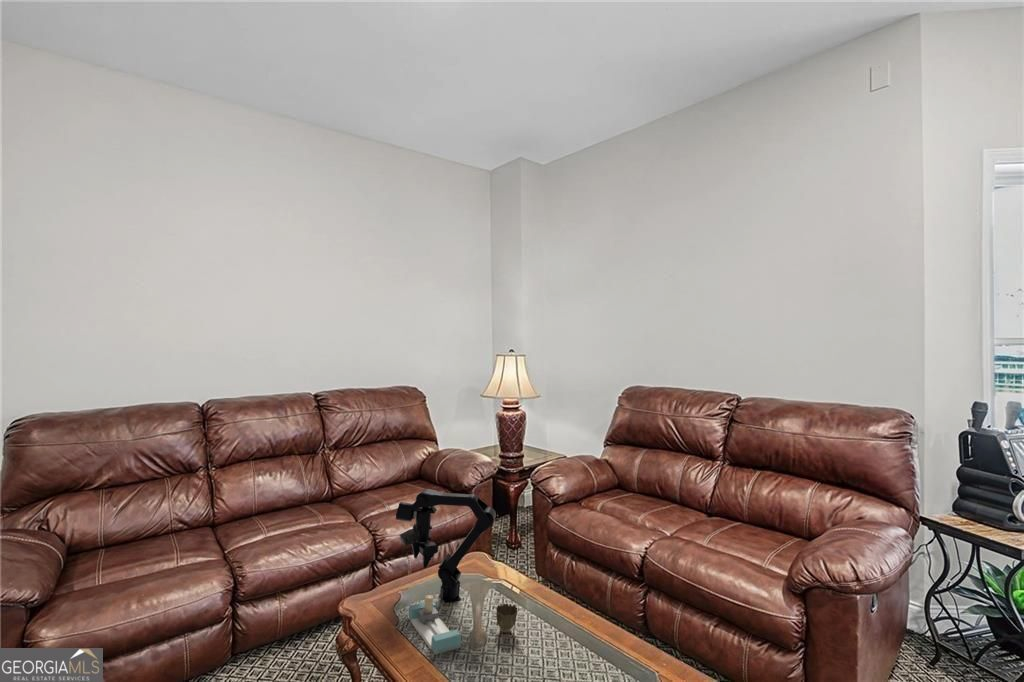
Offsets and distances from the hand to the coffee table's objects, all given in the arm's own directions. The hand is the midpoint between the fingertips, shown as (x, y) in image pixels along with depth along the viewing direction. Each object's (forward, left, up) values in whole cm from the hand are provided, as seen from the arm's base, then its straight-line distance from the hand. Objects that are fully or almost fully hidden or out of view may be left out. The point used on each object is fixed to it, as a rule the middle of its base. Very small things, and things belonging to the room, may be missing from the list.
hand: (420, 562), depth 203 cm
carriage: (+5, +21, -10) cm, 24 cm away
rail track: (+5, +26, -12) cm, 30 cm away
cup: (-18, +36, -12) cm, 42 cm away
